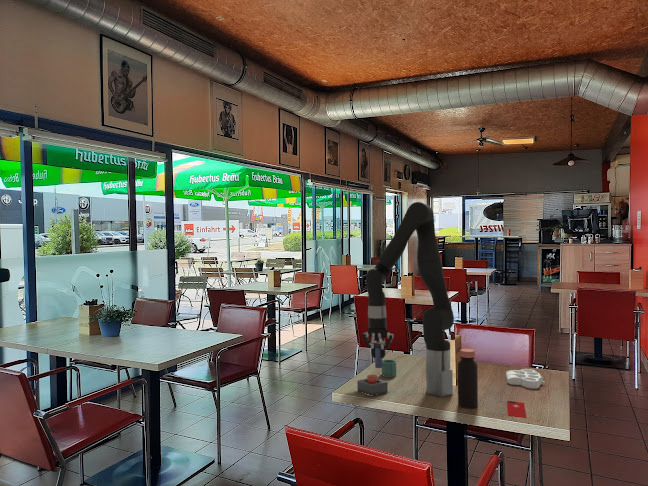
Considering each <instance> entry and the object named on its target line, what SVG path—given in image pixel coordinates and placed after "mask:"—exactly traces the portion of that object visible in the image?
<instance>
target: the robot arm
mask: <svg viewBox="0 0 648 486" xmlns="http://www.w3.org/2000/svg"><path fill="white" fill-rule="evenodd" d="M434 216H435V215H434V211H433V209H432V207H431V205H428V204H426V203H424V202H422V201H415V202H413V203H411V204H410V205H409V206H408V208H407V210H406V212H405V213H404V215H403V218H402V220H401V221H400V224H399V226H398V227H397V230H396V232H395V233H394V235H393V236H392V238H391V240H390V241H389V242H388V244H387V245H386V247H385V248H384V249H383V251H382V253H381V254H380V256H379V257H378V262H377V263H376V265H375V266H374V268H371V269H369V270H368V271H367V272H366V274H365V285H366V292H367V295H368V297H367V299H368V300H367V301H368V307H367V319H368V321H367V322H368V323H367V324H368V325H367V327H368V330H367V331H366V332H363V333H362V334H361V336H362V338H363V340H364V344H365V345H366V347H367V348H370V349H371V351H370V352H371V357H372V358H373V359H375V346H374V343H377V342H380V345H381V358H382V359H384V358H385V357H386V349H388V348H390V346H391V343H392V341H393V339H394V336H395V334H394V333H390V332H389V330H388V329H387V323H388V322H387V308H386V294H385V291H384V290H383V283H385V282H386V280H387V279H388V277H389V276H390V274H391V272H392V269H393V268H394V267H395V265H396V264H397V262H398V261H399V260H400V258H401V257H402V255H403V254H404V251H405V249H406V247H407V246H408V245H407V244H408V242H409V240H410V238H411V236H412V235H413V234H414V232H416V236H417V250H416V251H417V252H416V253H417V254H416V260H417V261H416V262H417V268H418V272H419V273H418V274H419V277H420V280H421V281H422V282H423V284H424V285H425V286H426V288H427V289H428V292H429V294H430V295H431V298H432V303H433V307H430V308H428V309H426V310H425V311H424V313H423V316H422V330H423V331H422V333H423V341H424V343H425V366H426V367H425V370H426V371H425V372H426V375H425V376H426V377H425V378H426V379H425V382H426V383H425V384H426V389H425V390H426V393H427V394H428V395H432V396H437V397H442V398H443V397H447V396H450V395H453V393H454V391H453V390H454V386H453V383H454V382H453V381H454V380H453V377H454V376H453V374H454V373H453V369H452V368H451V342H450V341H449V340H447V339H445V337H444V331H447V330H449V329H451V328H452V327H453V325H454V323H455V322H454V321H455V318H454V312H453V308H452V305H451V301H450V297H449V295H448V290H447V285H446V281H445V276H444V270H443V263H442V258H441V254H440V250H439V244H438V241H437V237H436V227H435V217H434ZM369 337H370V339H371V341H370V339H369ZM386 337H387V341H386V340H385V338H386Z"/></svg>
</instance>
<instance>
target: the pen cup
mask: <svg viewBox="0 0 648 486" xmlns="http://www.w3.org/2000/svg"><path fill="white" fill-rule="evenodd" d="M382 375H384V376H383V377H385V376H387V377H386V378H393V377H392V376H395V377H397V360H395V359H384V360H383V359H382V368H381V376H382Z"/></svg>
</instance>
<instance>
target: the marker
mask: <svg viewBox="0 0 648 486" xmlns="http://www.w3.org/2000/svg"><path fill="white" fill-rule="evenodd" d="M374 346H375V358H374V368H375V369H382V360H383V358H381V345H380V341H376V343H374Z"/></svg>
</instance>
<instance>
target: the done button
mask: <svg viewBox="0 0 648 486" xmlns="http://www.w3.org/2000/svg"><path fill="white" fill-rule="evenodd" d="M377 378H378V375H376V374H368V375H367V376H366V379H367V383H370V384H374V383H377Z"/></svg>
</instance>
